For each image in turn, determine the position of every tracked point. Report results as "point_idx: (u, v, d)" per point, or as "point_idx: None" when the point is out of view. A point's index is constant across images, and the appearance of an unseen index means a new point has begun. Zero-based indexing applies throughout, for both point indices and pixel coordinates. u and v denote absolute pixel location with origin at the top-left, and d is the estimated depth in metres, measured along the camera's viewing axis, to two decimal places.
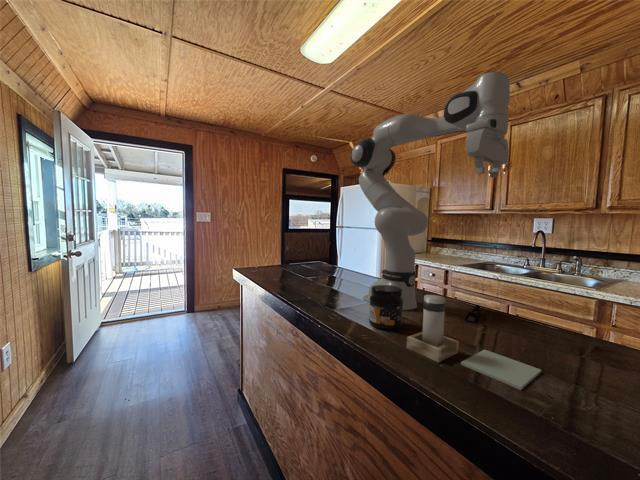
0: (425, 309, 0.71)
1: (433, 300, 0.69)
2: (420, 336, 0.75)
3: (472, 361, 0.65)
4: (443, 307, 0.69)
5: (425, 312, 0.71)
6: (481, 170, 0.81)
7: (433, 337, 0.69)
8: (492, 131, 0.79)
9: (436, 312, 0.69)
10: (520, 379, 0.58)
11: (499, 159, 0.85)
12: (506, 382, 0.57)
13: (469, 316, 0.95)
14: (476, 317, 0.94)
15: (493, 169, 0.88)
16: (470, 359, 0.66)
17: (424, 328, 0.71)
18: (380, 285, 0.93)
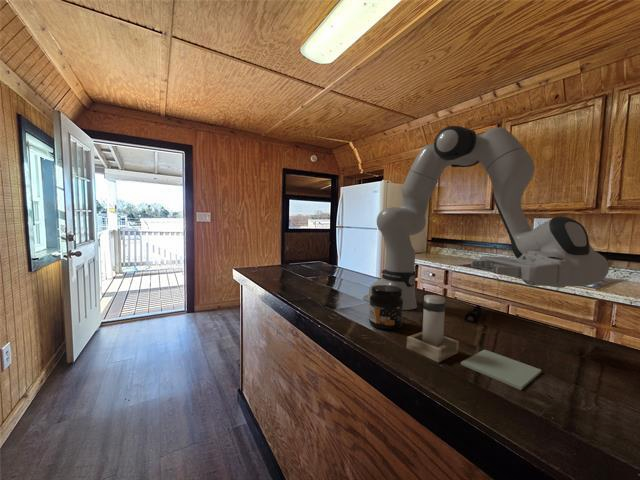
0: (425, 309, 0.71)
1: (433, 300, 0.69)
2: (420, 336, 0.75)
3: (472, 361, 0.65)
4: (443, 307, 0.69)
5: (425, 312, 0.71)
6: (500, 273, 0.66)
7: (433, 337, 0.69)
8: None
9: (436, 312, 0.69)
10: (520, 379, 0.58)
11: None
12: (506, 382, 0.57)
13: (468, 316, 0.95)
14: (475, 317, 0.94)
15: (481, 262, 0.76)
16: (470, 359, 0.66)
17: (424, 328, 0.71)
18: (380, 285, 0.93)
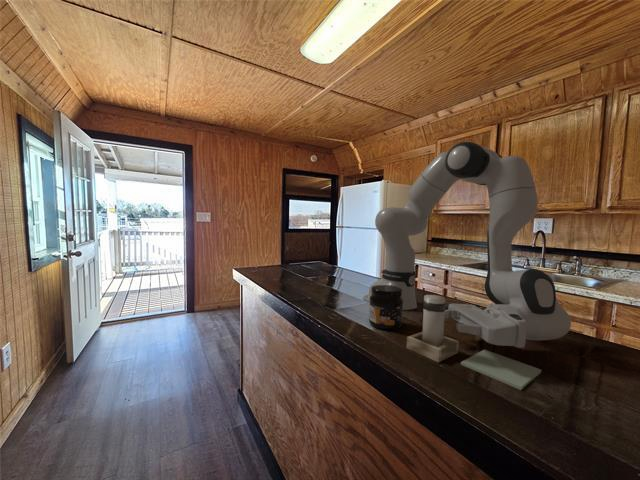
0: (425, 309, 0.71)
1: (433, 300, 0.69)
2: (420, 336, 0.75)
3: (472, 361, 0.65)
4: (443, 307, 0.69)
5: (425, 312, 0.71)
6: (461, 331, 0.66)
7: (433, 337, 0.69)
8: None
9: (436, 312, 0.69)
10: (520, 379, 0.58)
11: (459, 322, 0.75)
12: (506, 382, 0.57)
13: None
14: None
15: (448, 312, 0.77)
16: (470, 359, 0.66)
17: (424, 328, 0.71)
18: (380, 285, 0.93)
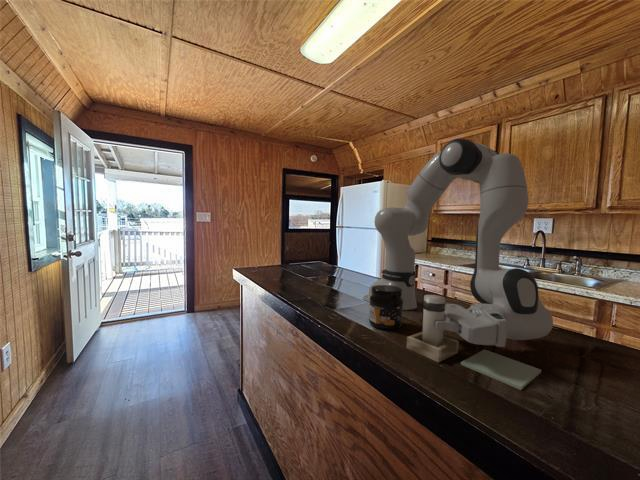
0: (425, 309, 0.71)
1: (433, 300, 0.69)
2: (420, 336, 0.75)
3: (472, 361, 0.65)
4: (443, 307, 0.69)
5: (425, 312, 0.71)
6: (439, 328, 0.68)
7: (433, 337, 0.69)
8: None
9: (436, 312, 0.69)
10: (520, 379, 0.58)
11: None
12: (506, 382, 0.57)
13: None
14: None
15: None
16: (470, 359, 0.66)
17: (424, 328, 0.71)
18: (380, 285, 0.93)
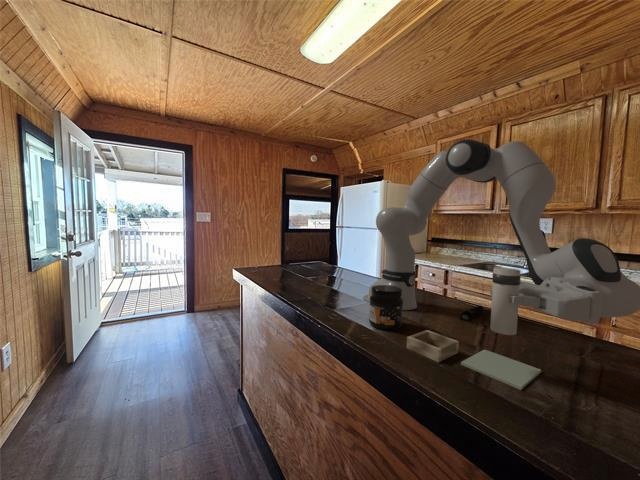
0: (496, 283, 0.62)
1: (508, 272, 0.60)
2: (420, 336, 0.75)
3: (472, 361, 0.65)
4: (519, 280, 0.60)
5: (496, 286, 0.62)
6: (517, 303, 0.59)
7: (507, 315, 0.61)
8: None
9: (511, 286, 0.60)
10: (520, 379, 0.58)
11: None
12: (506, 382, 0.57)
13: (463, 314, 0.97)
14: (470, 316, 0.96)
15: None
16: (470, 359, 0.66)
17: (495, 305, 0.62)
18: (380, 285, 0.93)
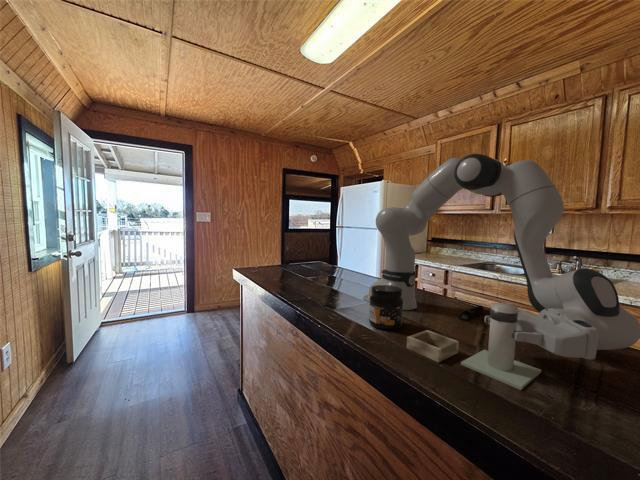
0: (494, 319, 0.62)
1: (505, 309, 0.61)
2: (420, 336, 0.75)
3: (472, 361, 0.65)
4: (516, 317, 0.61)
5: (494, 323, 0.62)
6: (519, 340, 0.58)
7: (504, 352, 0.61)
8: None
9: (508, 323, 0.61)
10: (520, 379, 0.58)
11: None
12: (506, 382, 0.57)
13: (463, 314, 0.97)
14: (469, 316, 0.96)
15: None
16: (470, 359, 0.66)
17: (492, 341, 0.63)
18: (380, 285, 0.93)
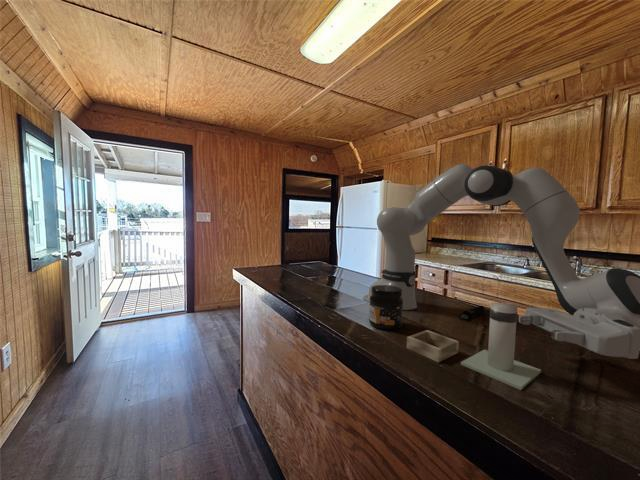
0: (493, 319, 0.62)
1: (504, 309, 0.61)
2: (420, 336, 0.75)
3: (472, 361, 0.65)
4: (516, 317, 0.61)
5: (493, 323, 0.62)
6: (560, 339, 0.58)
7: (504, 352, 0.61)
8: None
9: (508, 323, 0.61)
10: (520, 379, 0.58)
11: (545, 329, 0.67)
12: (506, 382, 0.57)
13: (462, 314, 0.97)
14: (469, 315, 0.96)
15: (529, 317, 0.68)
16: (470, 359, 0.66)
17: (492, 341, 0.63)
18: (380, 285, 0.93)
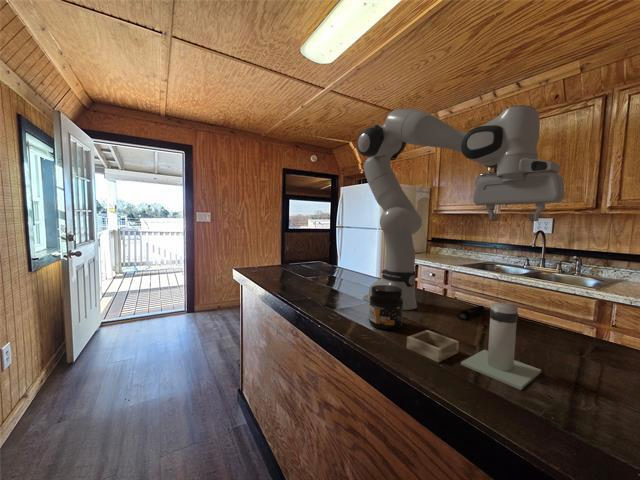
0: (494, 319, 0.62)
1: (505, 310, 0.60)
2: (420, 336, 0.75)
3: (472, 361, 0.65)
4: (516, 317, 0.61)
5: (494, 323, 0.62)
6: (538, 218, 0.71)
7: (504, 352, 0.61)
8: None
9: (508, 323, 0.60)
10: (520, 379, 0.58)
11: None
12: (506, 382, 0.57)
13: (461, 313, 0.98)
14: (468, 315, 0.96)
15: (491, 211, 0.79)
16: (470, 359, 0.66)
17: (492, 341, 0.63)
18: (380, 285, 0.93)
